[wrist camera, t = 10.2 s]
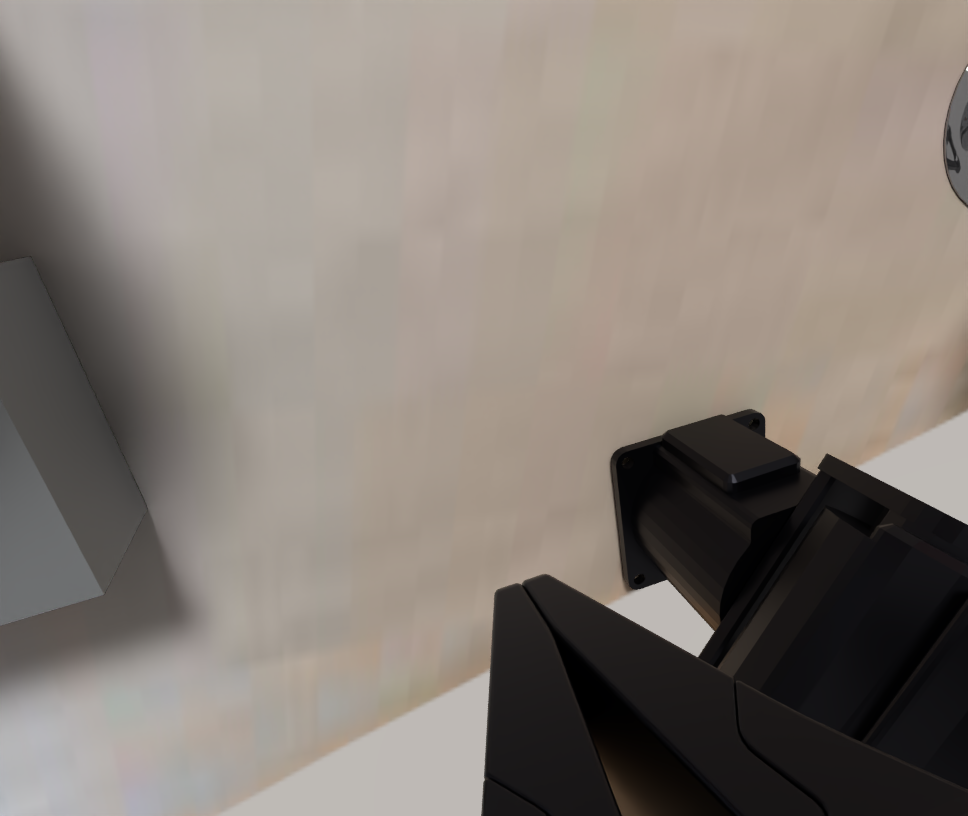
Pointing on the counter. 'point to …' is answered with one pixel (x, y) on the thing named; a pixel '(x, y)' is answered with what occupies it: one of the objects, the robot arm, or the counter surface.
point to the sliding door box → (54, 462)
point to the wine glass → (958, 139)
